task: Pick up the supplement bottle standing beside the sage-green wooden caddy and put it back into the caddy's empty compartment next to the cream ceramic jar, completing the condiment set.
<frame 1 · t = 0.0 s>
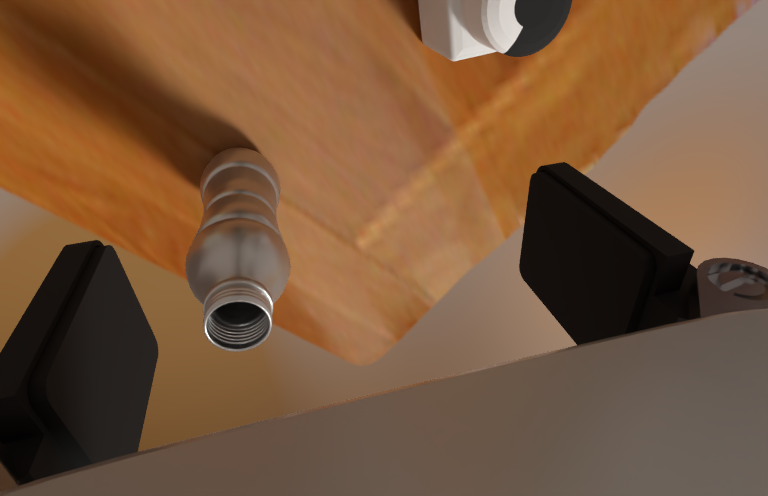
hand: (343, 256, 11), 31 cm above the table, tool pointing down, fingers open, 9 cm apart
plastic bottle: (241, 175, 42), on the table
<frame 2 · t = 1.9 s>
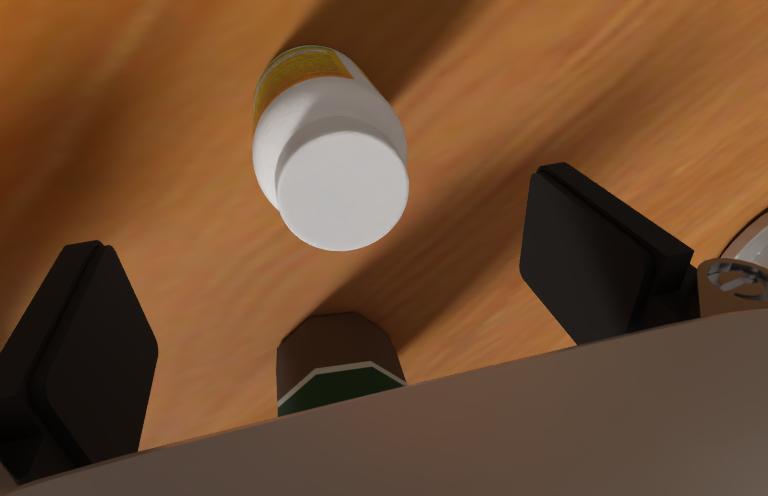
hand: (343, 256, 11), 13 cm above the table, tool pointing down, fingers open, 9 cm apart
beer bottle: (333, 351, 31), on the table
supplement bottle: (313, 104, 22), on the table
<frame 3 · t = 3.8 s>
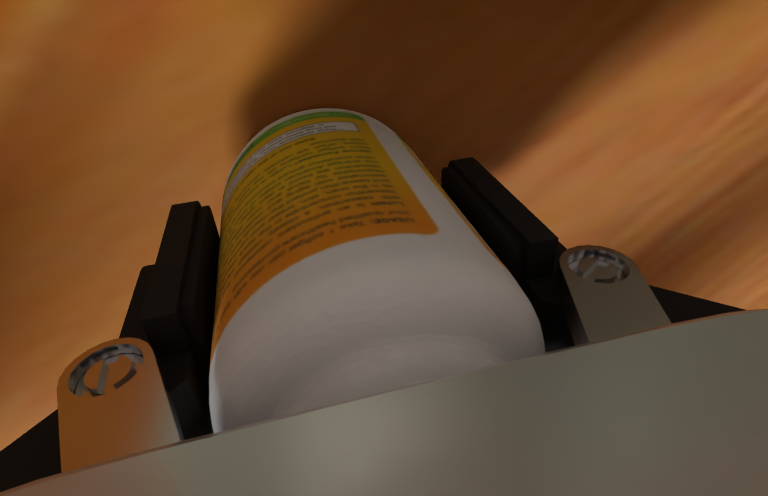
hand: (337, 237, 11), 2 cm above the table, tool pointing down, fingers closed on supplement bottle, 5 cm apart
supplement bottle: (324, 197, 13), on the table, touching gripper
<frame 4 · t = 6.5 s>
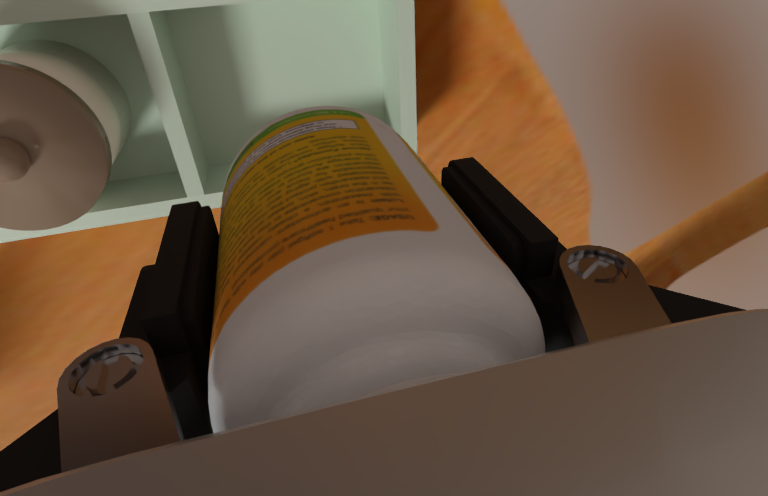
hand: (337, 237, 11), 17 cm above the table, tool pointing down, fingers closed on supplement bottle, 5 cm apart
jar: (61, 107, 22), point 1 cm above the table, touching caddy
caddy: (181, 88, 24), on the table
supplement bottle: (324, 195, 13), point 15 cm above the table, touching gripper
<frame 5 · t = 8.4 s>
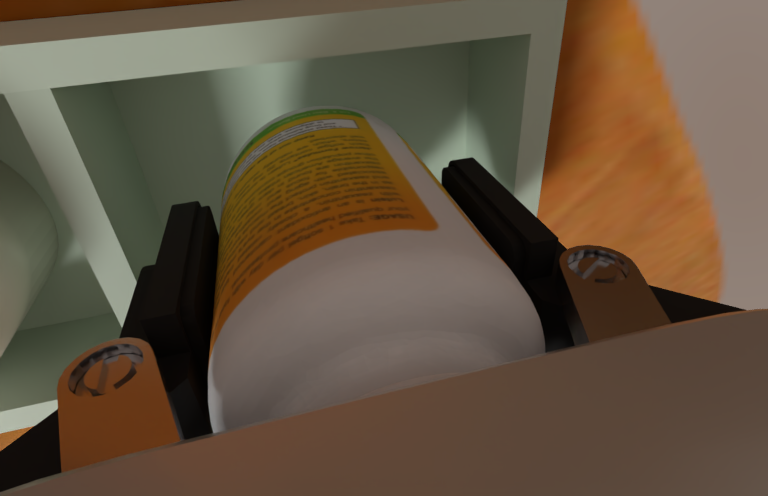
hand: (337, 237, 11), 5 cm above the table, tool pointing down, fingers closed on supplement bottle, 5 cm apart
caddy: (143, 183, 15), on the table
supplement bottle: (324, 195, 13), point 3 cm above the table, touching gripper
when the fingers open (4 cm above the table, at t = 9.5 s): supplement bottle drops 1 cm, resting on caddy.
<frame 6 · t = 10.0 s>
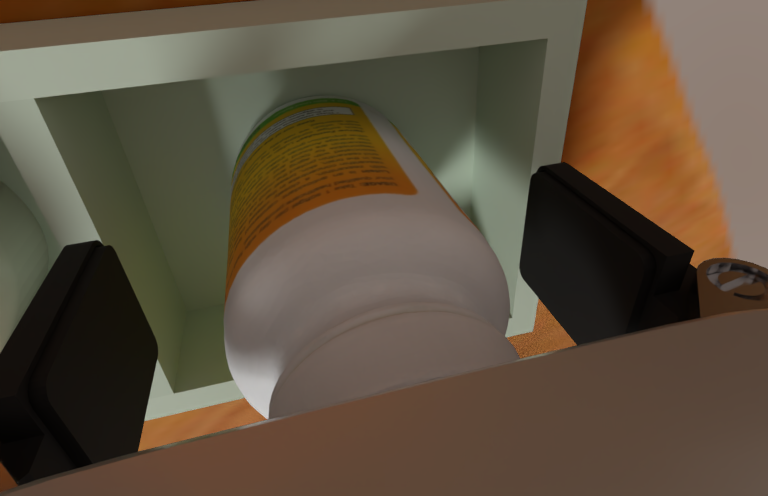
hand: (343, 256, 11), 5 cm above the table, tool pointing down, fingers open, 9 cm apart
caddy: (137, 193, 14), on the table
supplement bottle: (323, 178, 14), point 1 cm above the table, touching caddy
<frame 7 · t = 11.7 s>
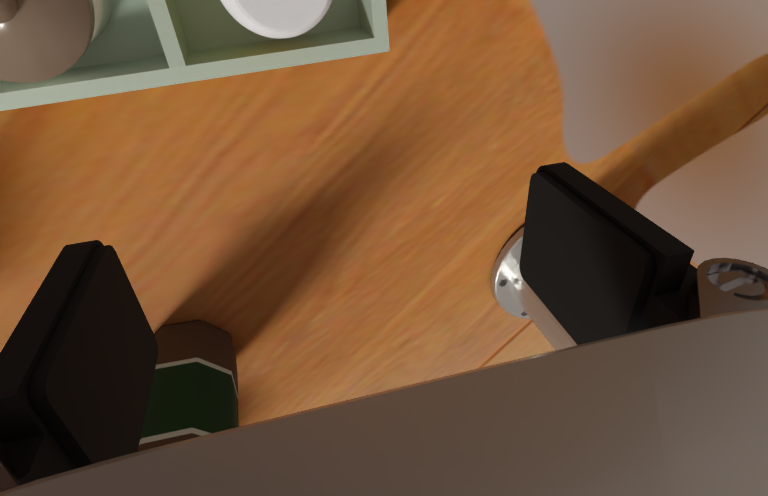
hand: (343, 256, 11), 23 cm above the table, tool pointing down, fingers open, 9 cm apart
beer bottle: (190, 349, 40), on the table
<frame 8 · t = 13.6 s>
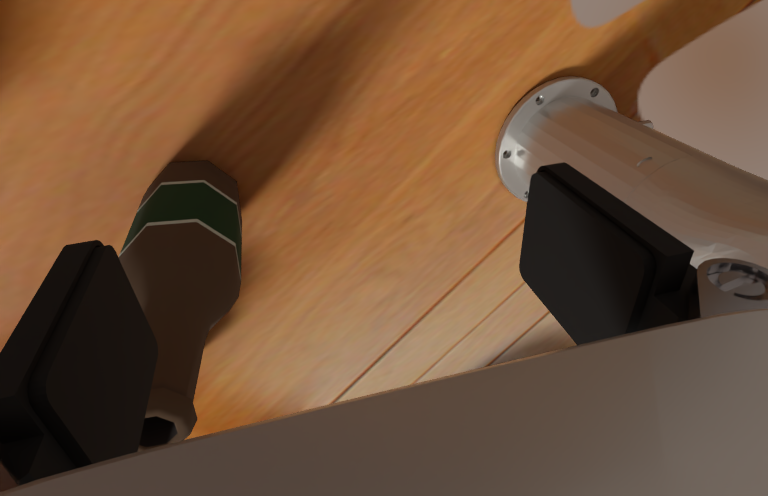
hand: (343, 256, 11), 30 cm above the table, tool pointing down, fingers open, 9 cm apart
beer bottle: (197, 196, 41), on the table
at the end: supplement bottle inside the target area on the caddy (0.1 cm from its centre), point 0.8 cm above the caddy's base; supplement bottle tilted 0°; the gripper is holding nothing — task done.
